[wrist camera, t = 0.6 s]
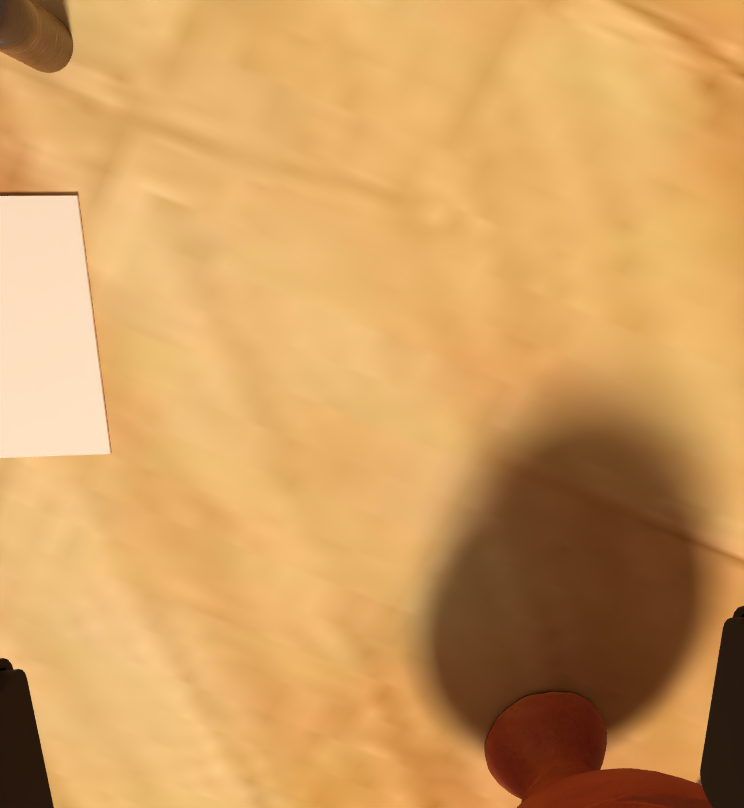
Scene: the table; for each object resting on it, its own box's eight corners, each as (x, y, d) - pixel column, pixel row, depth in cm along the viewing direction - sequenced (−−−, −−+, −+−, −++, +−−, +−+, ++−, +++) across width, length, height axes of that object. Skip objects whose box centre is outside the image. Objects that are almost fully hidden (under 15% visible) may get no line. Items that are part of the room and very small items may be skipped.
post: (12, 11, 31) (-103, -64, 22) (68, 12, 31) (-24, -63, 23) (20, 72, 32) (-88, 21, 23) (76, 73, 32) (-11, 22, 23)
